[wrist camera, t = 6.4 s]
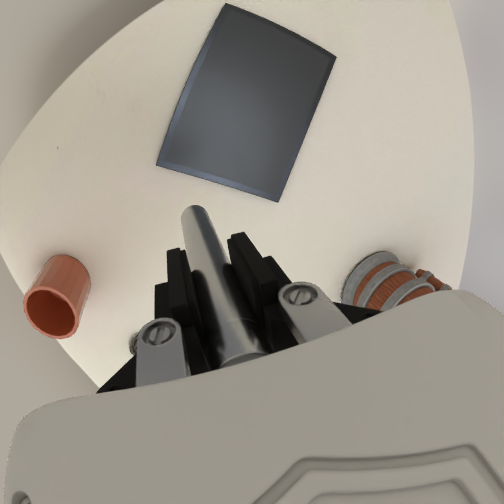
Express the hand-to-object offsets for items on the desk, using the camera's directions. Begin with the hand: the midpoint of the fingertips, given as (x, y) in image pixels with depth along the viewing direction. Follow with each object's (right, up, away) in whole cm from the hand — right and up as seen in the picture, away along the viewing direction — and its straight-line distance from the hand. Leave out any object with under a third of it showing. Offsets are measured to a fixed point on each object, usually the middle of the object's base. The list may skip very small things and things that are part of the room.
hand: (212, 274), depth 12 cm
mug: (+26, -4, +38) cm, 47 cm away
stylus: (-2, +3, +7) cm, 9 cm away
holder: (-24, -3, +21) cm, 32 cm away
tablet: (+2, +19, +19) cm, 27 cm away
